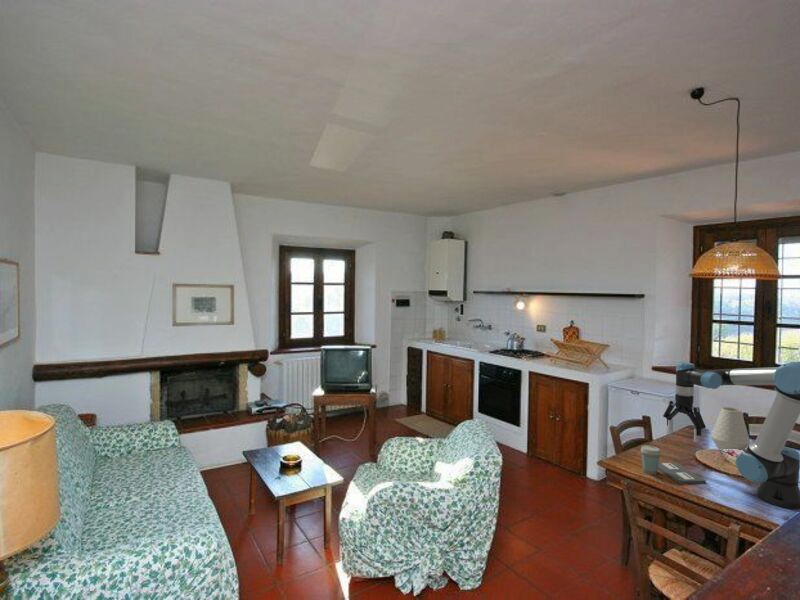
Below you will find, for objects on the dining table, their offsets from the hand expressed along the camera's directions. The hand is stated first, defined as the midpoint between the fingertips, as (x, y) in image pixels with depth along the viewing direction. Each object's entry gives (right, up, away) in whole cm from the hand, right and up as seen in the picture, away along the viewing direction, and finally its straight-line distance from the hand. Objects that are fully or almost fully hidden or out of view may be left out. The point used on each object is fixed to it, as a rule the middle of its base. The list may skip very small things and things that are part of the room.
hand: (683, 437), depth 218 cm
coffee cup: (-17, -17, -1) cm, 24 cm away
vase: (+44, -16, +28) cm, 54 cm away
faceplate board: (-4, -17, -3) cm, 18 cm away
